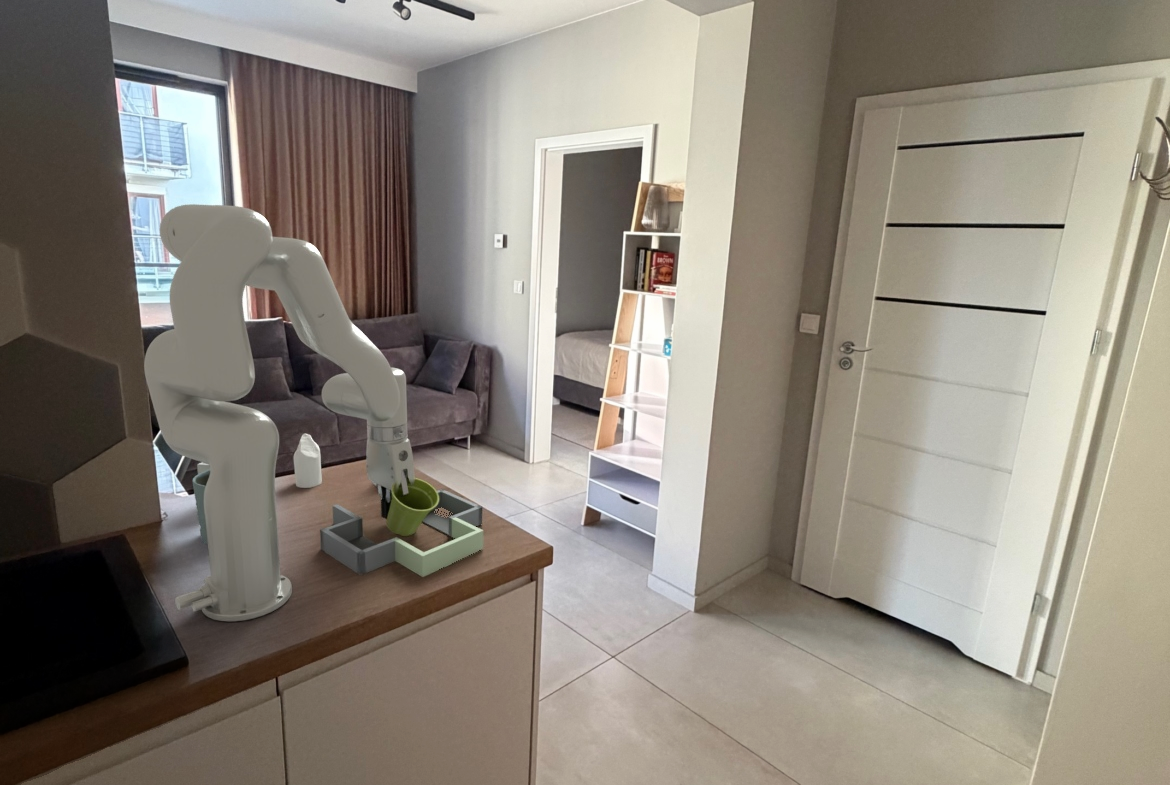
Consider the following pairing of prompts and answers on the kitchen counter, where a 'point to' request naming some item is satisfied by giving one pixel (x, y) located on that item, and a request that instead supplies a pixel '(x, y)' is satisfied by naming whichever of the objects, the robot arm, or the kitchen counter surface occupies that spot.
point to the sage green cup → (201, 501)
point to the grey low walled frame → (367, 556)
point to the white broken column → (307, 463)
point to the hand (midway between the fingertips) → (390, 516)
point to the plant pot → (411, 507)
